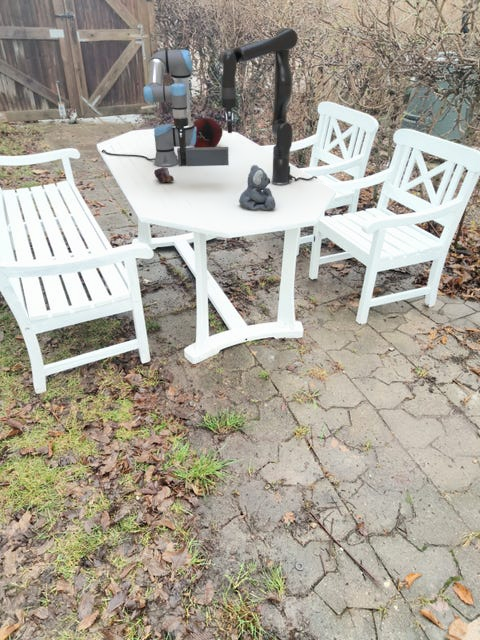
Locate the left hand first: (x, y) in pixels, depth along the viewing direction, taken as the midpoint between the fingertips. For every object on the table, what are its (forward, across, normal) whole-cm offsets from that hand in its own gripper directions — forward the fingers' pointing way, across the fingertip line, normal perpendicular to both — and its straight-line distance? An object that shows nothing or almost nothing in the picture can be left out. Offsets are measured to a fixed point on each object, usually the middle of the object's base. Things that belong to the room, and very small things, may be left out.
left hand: (184, 163), depth 245 cm
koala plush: (+14, -29, -38) cm, 50 cm away
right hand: (-17, -1, -25) cm, 30 cm away
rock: (+14, +13, +14) cm, 23 cm away
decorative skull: (+14, +90, -9) cm, 92 cm away
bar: (+1, 0, -11) cm, 11 cm away
